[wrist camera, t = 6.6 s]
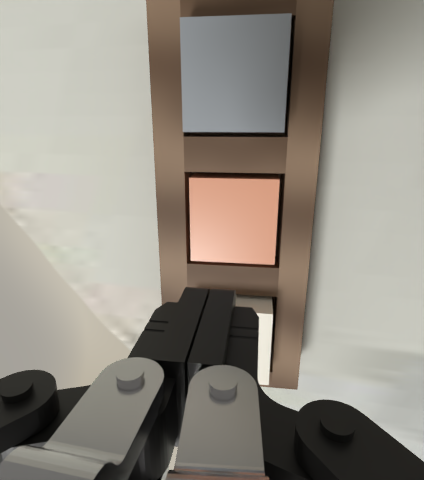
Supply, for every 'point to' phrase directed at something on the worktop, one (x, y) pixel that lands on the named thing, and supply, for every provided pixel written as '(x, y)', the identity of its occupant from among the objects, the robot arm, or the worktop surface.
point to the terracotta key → (233, 217)
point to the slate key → (234, 72)
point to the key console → (243, 166)
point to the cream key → (261, 330)
